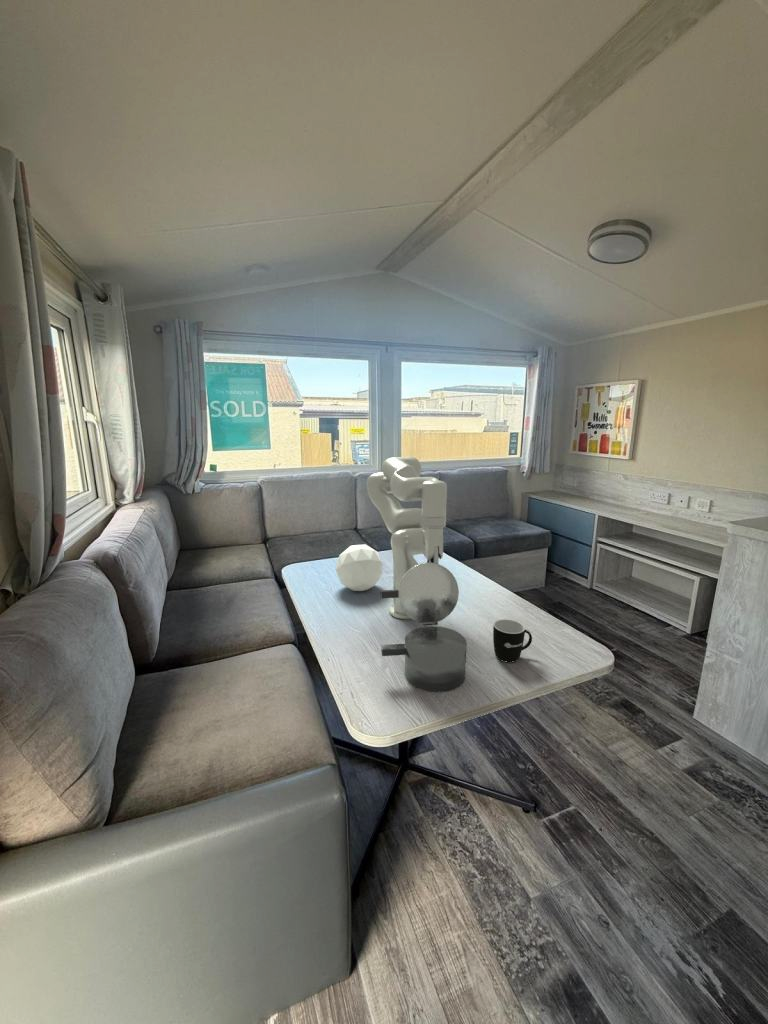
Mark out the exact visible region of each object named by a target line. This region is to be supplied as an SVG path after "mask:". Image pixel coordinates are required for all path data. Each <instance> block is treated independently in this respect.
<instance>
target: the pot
mask: <svg viewBox="0 0 768 1024" xmlns="http://www.w3.org/2000/svg"><path fill="white" fill-rule="evenodd" d="M467 645H468V643H467V640H466V638H465V636H464V635H462V633H460V632H458V631H457V630H454V629H451V628H449V627H445V626H438V625H427V626H420V627H417V628H414V629H413V630H410V631H409V632H408V633H407V634H406V635H405V637H404V643H396V644H395V643H393V644H391V643H390V644H381V646H380V647H381V648H380V649H381V650H380V651H381V652H380V653H381V657H392V656H394V657H395V656H404V669H403V670H404V671H403V672H404V677H405V679H406V680H407V682H408V683H410V685H412V686H413V687H415V688H417V689H419V690H423V691H425V692H430V693H445V692H446V693H447V692H452V691H454V690H456V689H458V688H460V687H461V686H462V685H463V684H464V683H465V680H466V670H467V669H466V668H467V651H468V650H467V649H468V648H467V647H468V646H467Z"/></svg>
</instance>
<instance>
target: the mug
mask: <svg viewBox="0 0 768 1024" xmlns="http://www.w3.org/2000/svg"><path fill="white" fill-rule="evenodd" d="M492 629H493V630H492V633H493V634H492V636H493V637H492V638H493V639H492V640H493V641H492V642H493V648H494V653H495V657H496V656H497V657H498V658H499V659H500V660H499V659H498V658H497V657H496V658H497V659H498V660H499V661H501V660H503V661H507V662H506V663H508V662H512V661H515V662H517V661H518V660H519V658H520V657H521V654H522V652H523V651H524V650H526V649H527V648H529V647H530V645H531V644H532V642H533V636H532V634H531V632H530V631H529V630H527V629H526V627H525V625H523V624H522V622H519V621H517V620H515V619H514V620H513V619H506V618H502V619H498V620H495V621H494V623H493V627H492ZM526 634H528V641H527V642H526V643H525V644H524V640H525V635H526ZM516 660H517V661H516ZM503 661H502V662H503ZM512 663H513V662H512Z"/></svg>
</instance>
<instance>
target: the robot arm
mask: <svg viewBox="0 0 768 1024" xmlns="http://www.w3.org/2000/svg"><path fill="white" fill-rule="evenodd" d="M421 472H422V465H421V462H420V460H419V459H418V458H416V457H415V456H396V457H390V458H386V459H385V460H384V461H383V463H382V465H381V472H375V473H373V474H370V475H369V476H368V478H367V479H366V490H367V494H368V497H369V499H370V500H371V502H372V504H373V505H374V506H375V507H376V508H377V510H378V511H379V513H380V516H381V518H382V520H383V522H384V524H385V527H386V528H387V530H388V531H389V533H391V537H390V546H391V551H392V552H391V553H392V559H393V560H392V561H393V564H392V566H393V570H392V571H393V577H392V578H393V579H392V580H393V583H392V584H393V589H392V590H398V588H399V584H400V581H401V579H402V577H403V576H404V574H405V573H406V572H407V571H408V570H409V569H411V568H412V567H414V566H415V565H418V564H419V562H418V561H417V560H416V559H415V558H414V556H417V555H423V556H424V558H426V560H427V561H426V562H432V563H437V564H439V561H440V560H442V559H443V556H444V554H443V553H444V528H445V527H446V526H447V500H448V499H447V498H448V497H447V496H448V485H447V483H446V481H443V480H439V479H438V478H436V477H434V476H420V475H421V474H422V473H421ZM391 494H392V495H391ZM400 501H401V502H405V503H406V502H407V503H408V502H409V503H411V502H421V508H419V507H410V508H404V507H402V505H401V503H400ZM392 599H393V601H392V602H393V604H392V605H390V606H389V609H388V612H389V613H388V614H390V615H391V616H392V617H393V618H397V619H400V620H412V619H411V618H410V617H409V616H408V615H407V614H406V613H405V612H404V611H403V609H402V607H401V605H400V602H399V598H392Z"/></svg>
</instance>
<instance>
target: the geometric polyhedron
mask: <svg viewBox="0 0 768 1024" xmlns="http://www.w3.org/2000/svg"><path fill="white" fill-rule="evenodd" d="M335 572H336V574H337V577H338V579H339V581H340V584H341V585H343V586H344V587H346V588H348V589H349V590H352V592H364V591H368V590H370V589H371V588H373V587H374V586H376V585H377V583H378V582H379V580H380V578H381V577H382V575H383V563H382V560H381V558H380V555H379V552H378V551H377V550H375V549H374V548H372V547H371V546H369V545H367V544H366V543H365V544H354V545H353V544H352V545H350V546H348V548H346V549H344V551H343V552H342V553H340V554H339V556H338V558H337V562H336V567H335Z"/></svg>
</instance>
